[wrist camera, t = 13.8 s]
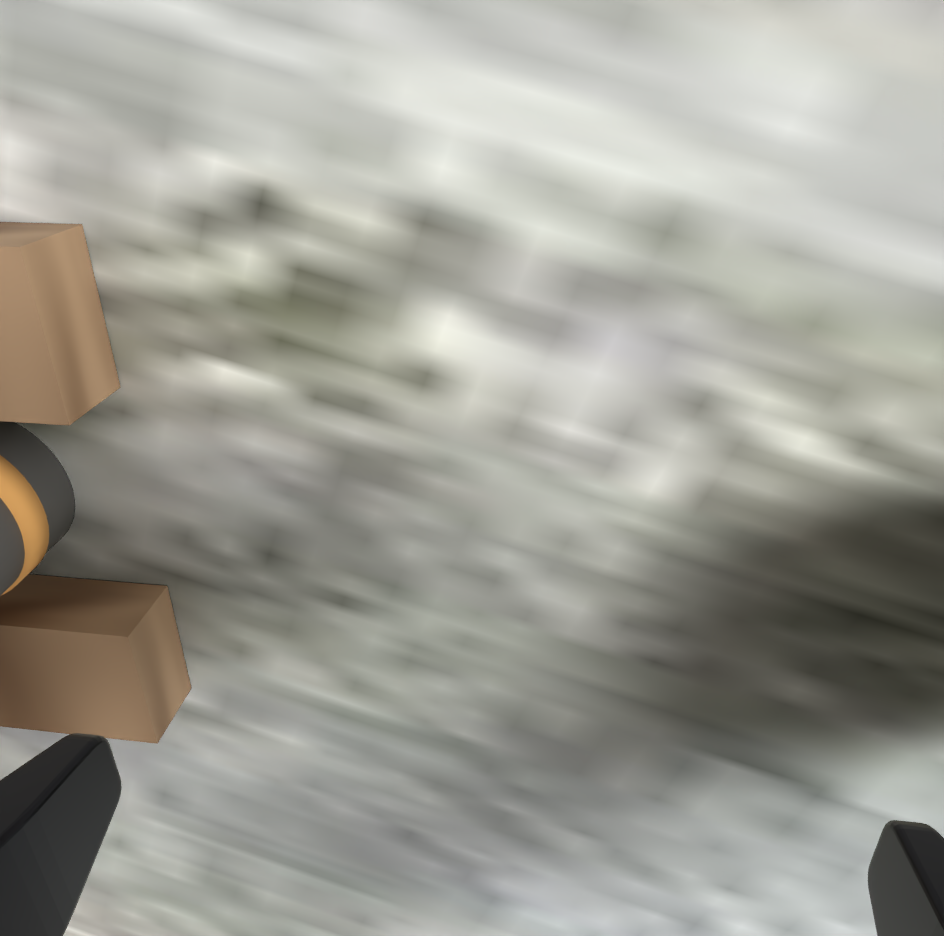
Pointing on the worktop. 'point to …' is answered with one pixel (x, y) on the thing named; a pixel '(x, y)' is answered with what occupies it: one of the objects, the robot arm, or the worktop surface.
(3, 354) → the tan u-shaped stand
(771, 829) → the worktop surface
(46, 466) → the orange banded cylinder
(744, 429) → the worktop surface
